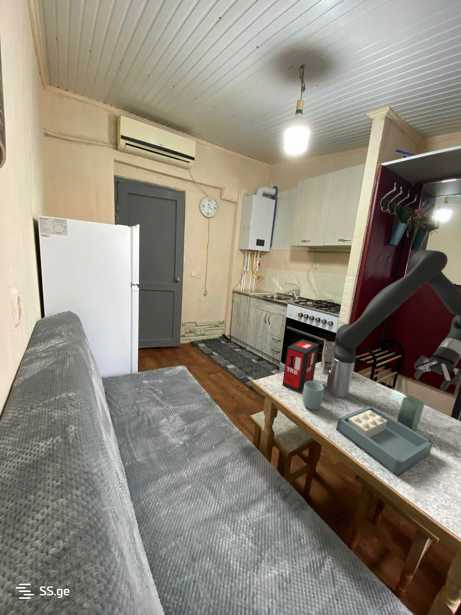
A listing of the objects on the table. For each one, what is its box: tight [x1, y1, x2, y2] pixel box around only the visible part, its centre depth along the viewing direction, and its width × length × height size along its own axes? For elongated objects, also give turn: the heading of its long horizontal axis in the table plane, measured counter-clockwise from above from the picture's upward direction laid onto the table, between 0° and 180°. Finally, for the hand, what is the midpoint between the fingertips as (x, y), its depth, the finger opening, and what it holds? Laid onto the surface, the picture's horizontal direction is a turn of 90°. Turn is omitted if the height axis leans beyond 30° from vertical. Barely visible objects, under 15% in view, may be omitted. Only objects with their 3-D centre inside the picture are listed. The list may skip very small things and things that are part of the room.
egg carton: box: [348, 410, 387, 438], centre depth 94 cm, size 7×13×5 cm, turn 119°
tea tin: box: [396, 394, 425, 433], centre depth 96 cm, size 5×5×13 cm
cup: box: [302, 380, 325, 411], centre depth 107 cm, size 8×8×10 cm
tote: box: [335, 405, 434, 477], centre depth 90 cm, size 22×20×5 cm
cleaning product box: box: [281, 339, 320, 394], centre depth 124 cm, size 16×9×20 cm, turn 141°
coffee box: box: [320, 340, 335, 375], centre depth 141 cm, size 9×6×16 cm
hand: (428, 383), depth 98 cm, fingers open, 8 cm apart
